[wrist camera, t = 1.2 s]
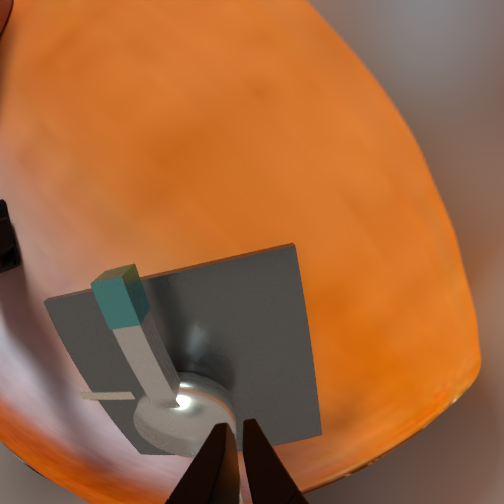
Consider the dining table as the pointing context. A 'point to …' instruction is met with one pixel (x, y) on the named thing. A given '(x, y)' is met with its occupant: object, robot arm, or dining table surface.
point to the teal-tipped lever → (160, 371)
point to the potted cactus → (4, 12)
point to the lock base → (210, 342)
